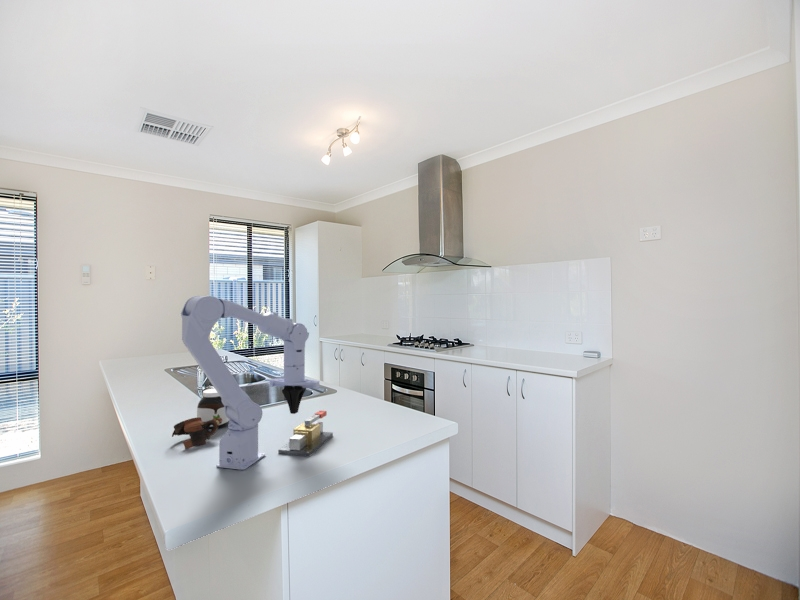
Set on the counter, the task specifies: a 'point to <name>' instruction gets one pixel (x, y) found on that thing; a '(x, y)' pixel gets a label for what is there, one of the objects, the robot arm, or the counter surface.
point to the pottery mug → (195, 431)
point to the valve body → (306, 440)
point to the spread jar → (212, 408)
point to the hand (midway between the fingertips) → (294, 412)
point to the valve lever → (315, 417)
